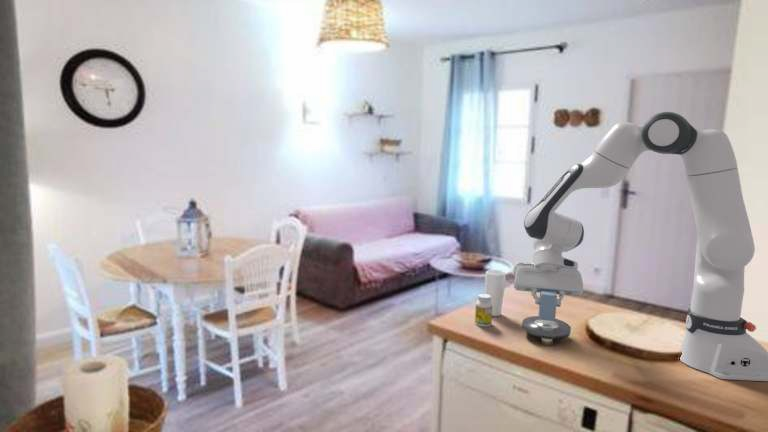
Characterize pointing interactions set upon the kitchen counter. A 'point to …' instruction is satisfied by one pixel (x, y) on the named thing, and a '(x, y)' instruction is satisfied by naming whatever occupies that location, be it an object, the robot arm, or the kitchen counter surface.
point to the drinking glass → (495, 289)
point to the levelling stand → (546, 329)
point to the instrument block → (547, 305)
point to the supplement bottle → (483, 310)
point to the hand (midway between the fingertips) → (547, 304)
